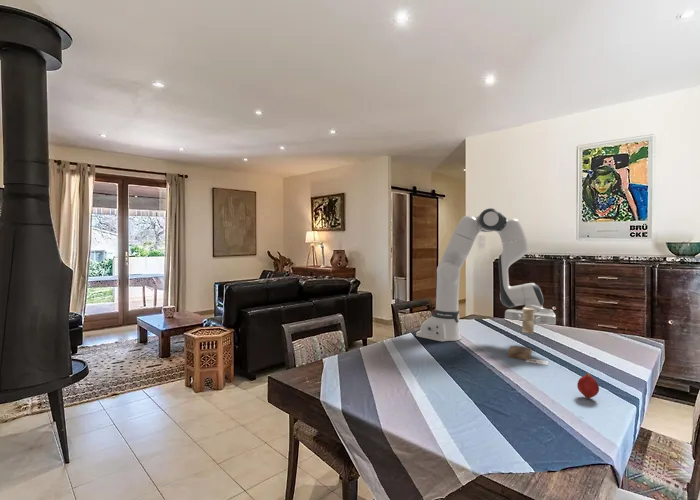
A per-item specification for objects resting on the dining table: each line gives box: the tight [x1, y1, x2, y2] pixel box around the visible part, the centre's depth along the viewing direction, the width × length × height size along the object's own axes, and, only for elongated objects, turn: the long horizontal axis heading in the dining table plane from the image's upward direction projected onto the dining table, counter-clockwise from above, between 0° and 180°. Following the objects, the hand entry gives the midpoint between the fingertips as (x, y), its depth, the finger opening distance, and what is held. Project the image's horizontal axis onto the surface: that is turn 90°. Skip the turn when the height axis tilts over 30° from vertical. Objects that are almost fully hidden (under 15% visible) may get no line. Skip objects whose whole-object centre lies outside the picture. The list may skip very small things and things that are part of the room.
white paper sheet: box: [525, 358, 549, 366], centre depth 154 cm, size 8×5×1 cm, turn 59°
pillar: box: [521, 307, 535, 335], centre depth 159 cm, size 4×4×10 cm
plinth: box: [508, 345, 532, 361], centre depth 161 cm, size 8×8×3 cm
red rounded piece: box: [576, 373, 600, 399], centre depth 118 cm, size 6×6×8 cm
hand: (528, 319), depth 158 cm, fingers closed on pillar, 4 cm apart
